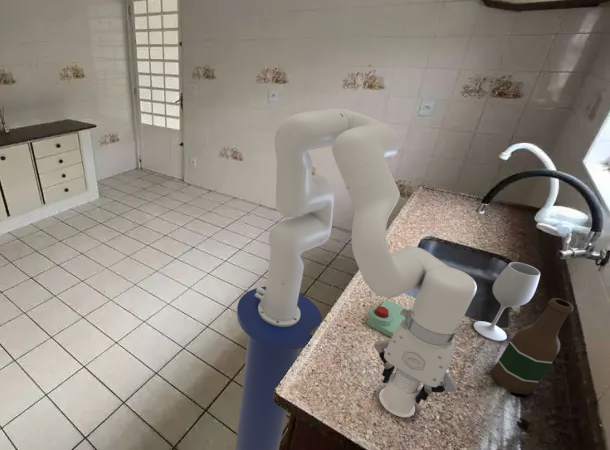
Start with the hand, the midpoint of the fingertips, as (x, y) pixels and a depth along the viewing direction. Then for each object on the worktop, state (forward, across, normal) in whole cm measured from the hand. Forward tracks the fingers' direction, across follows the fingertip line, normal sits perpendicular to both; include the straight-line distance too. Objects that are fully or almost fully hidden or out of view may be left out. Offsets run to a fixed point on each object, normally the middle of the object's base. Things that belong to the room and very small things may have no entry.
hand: (402, 388), depth 75 cm
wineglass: (+5, +9, +42) cm, 43 cm away
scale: (+5, -8, +26) cm, 28 cm away
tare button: (+2, -13, +22) cm, 26 cm away
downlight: (+5, 0, 0) cm, 5 cm away
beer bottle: (+5, +16, +26) cm, 31 cm away
